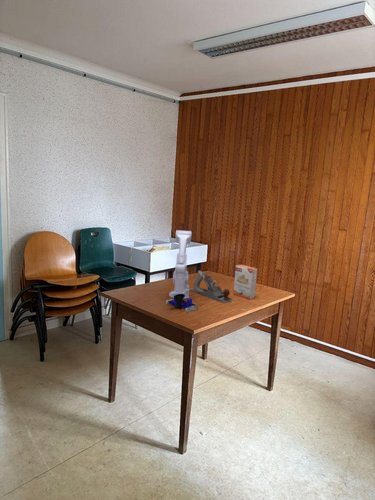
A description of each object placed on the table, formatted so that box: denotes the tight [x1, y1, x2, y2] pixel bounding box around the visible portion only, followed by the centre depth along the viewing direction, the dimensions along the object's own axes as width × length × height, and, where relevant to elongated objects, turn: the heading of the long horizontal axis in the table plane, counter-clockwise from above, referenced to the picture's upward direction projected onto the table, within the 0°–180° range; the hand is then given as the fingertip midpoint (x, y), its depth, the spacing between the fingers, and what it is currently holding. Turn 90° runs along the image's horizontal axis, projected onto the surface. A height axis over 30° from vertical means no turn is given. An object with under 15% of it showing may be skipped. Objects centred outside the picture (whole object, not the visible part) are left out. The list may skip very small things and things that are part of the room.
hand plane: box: [189, 270, 233, 304], centre depth 247 cm, size 9×33×15 cm, turn 43°
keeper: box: [165, 298, 199, 313], centre depth 220 cm, size 9×18×3 cm, turn 46°
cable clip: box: [170, 297, 193, 309], centre depth 221 cm, size 12×4×6 cm, turn 51°
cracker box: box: [233, 264, 258, 300], centre depth 249 cm, size 14×6×21 cm, turn 45°
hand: (178, 306), depth 218 cm, fingers closed
